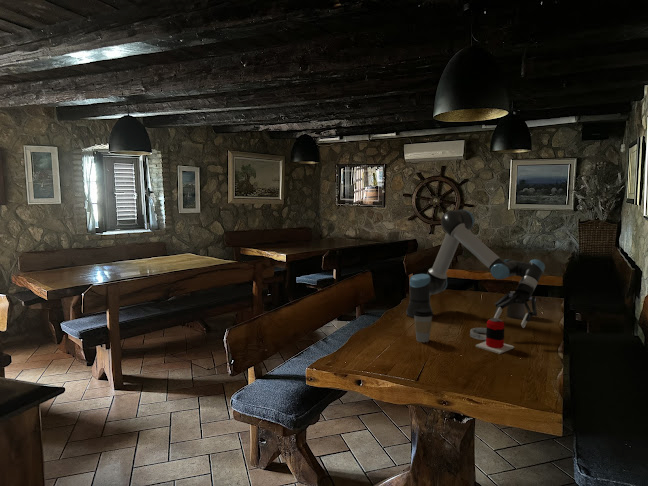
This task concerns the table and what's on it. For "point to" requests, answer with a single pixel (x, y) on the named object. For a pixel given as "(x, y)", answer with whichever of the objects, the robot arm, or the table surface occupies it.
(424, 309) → the coffee cup
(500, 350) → the cream coaster
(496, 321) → the soda can
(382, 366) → the table surface
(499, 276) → the robot arm
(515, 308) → the pillar candle
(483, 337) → the steel ring holder
